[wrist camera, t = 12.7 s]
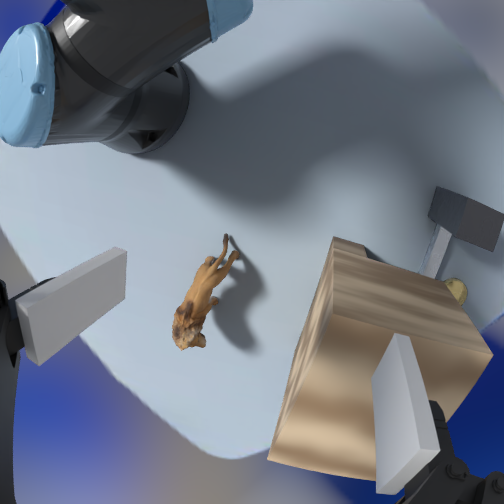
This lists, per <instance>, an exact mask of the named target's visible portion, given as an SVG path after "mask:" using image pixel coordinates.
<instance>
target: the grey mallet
mask: <svg viewBox="0 0 504 504" xmlns="http://www.w3.org/2000/svg"><path fill="white" fill-rule="evenodd" d="M428 217H429V218H431V219H432V220H433V221H435V222H436V223H437V226H436V228H435V231H434V234H433V237H432V240H431V243H430V245H429V248H428V251H427V253H426V256H425V259H424V261H423V264H422V266H421V269H420V271H419V274H421V275H424V276H427V277H430V278H433V279H435V276H436V274H437V272H438V269H439V267H440V264H441V262H442V259H443V256H444V254H445V251H446V249H447V246H448V243H449V240H450V238H451V235H454V236H455V237H457V238H459V239H462V240H464V241H467V242H469V243H472V244H474V245H477V246H479V247H482V248H484V249H487V250H489V251H491V252H493V250H494V247H495V245H496V242H497V239H498V236H499V233H500V230H501V228H502V224H503V221H504V214H503V213H500V212H498V211H496V210H494V209H492V208H490V207H488V206H486V205H483V204H481V203H479V202H477V201H475V200H472V199H470V198H468V197H465V196H463V195H460V194H457V193H455V192H452V191H449V190H447V189H444V188H441V187H438V186H437V187H436V191H435V194H434V198H433V201H432V204H431V207H430V211H429V214H428Z"/></svg>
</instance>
